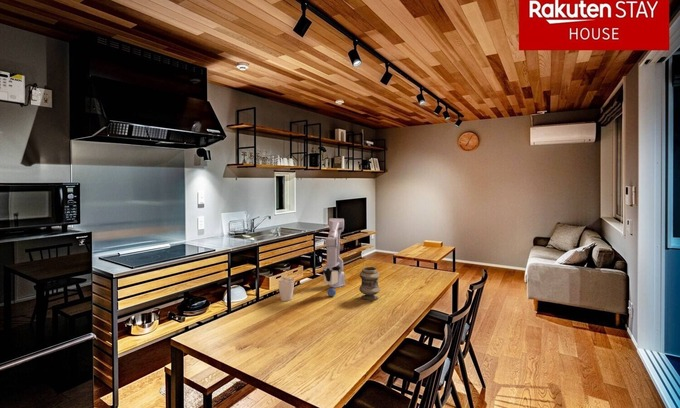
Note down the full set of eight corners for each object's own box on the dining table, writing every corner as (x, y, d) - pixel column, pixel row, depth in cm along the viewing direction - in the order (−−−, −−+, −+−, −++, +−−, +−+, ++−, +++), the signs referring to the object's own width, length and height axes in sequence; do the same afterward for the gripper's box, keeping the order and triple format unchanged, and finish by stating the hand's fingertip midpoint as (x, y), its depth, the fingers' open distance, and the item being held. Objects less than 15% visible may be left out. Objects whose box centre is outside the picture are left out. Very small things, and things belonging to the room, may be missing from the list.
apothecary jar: (355, 299, 203) (356, 269, 201) (364, 293, 213) (364, 264, 212) (375, 303, 197) (375, 272, 196) (382, 296, 208) (383, 267, 206)
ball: (337, 289, 207) (337, 296, 208) (333, 285, 211) (332, 293, 212) (330, 290, 204) (330, 298, 205) (326, 287, 208) (325, 294, 209)
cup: (291, 302, 198) (291, 281, 197) (276, 301, 200) (276, 280, 199) (296, 297, 207) (296, 277, 206) (281, 295, 208) (281, 276, 207)
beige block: (330, 280, 213) (329, 269, 212) (337, 282, 209) (337, 270, 209) (323, 283, 208) (323, 271, 207) (331, 284, 204) (331, 273, 204)
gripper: (333, 254, 215) (333, 275, 216) (318, 258, 203) (318, 281, 205) (343, 255, 211) (342, 277, 212) (328, 260, 199) (328, 283, 200)
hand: (331, 279), depth 208 cm, fingers closed on beige block, 6 cm apart
